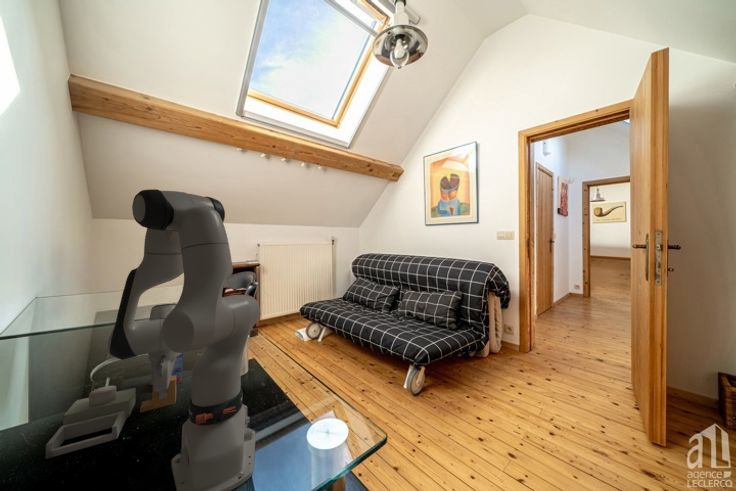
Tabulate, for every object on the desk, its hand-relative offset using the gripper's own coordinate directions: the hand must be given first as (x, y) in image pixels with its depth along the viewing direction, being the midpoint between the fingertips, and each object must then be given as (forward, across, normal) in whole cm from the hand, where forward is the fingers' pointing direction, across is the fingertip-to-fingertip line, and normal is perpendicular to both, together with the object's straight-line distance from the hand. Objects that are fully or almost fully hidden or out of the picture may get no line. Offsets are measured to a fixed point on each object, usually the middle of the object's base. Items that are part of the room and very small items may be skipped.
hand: (164, 392), depth 89 cm
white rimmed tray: (+4, -4, +15) cm, 16 cm away
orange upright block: (+4, 0, +1) cm, 4 cm away
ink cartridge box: (+4, +17, +1) cm, 17 cm away
